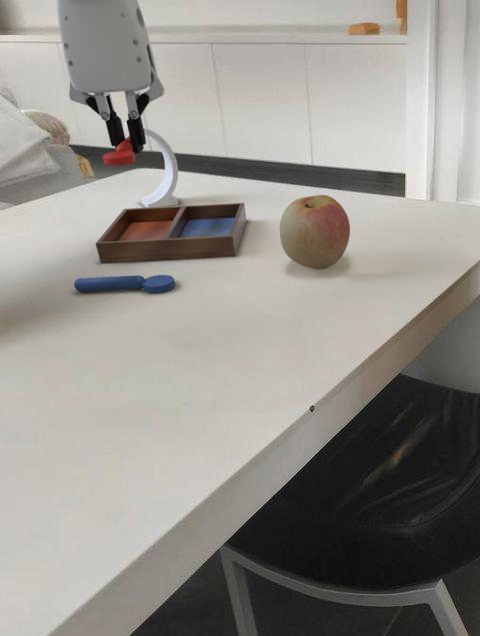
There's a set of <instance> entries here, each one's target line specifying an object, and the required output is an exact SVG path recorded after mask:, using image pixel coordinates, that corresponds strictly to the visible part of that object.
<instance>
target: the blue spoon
mask: <svg viewBox="0 0 480 636" xmlns="http://www.w3.org/2000/svg"><path fill="white" fill-rule="evenodd" d="M73 287H74V289H75V290H76V291H77V292H79V293H89V292H92V293H93V292H109V291H128V290H129V291H130V290H131V291H132V290H142V289H143V291H144V292H145V293H147V294H163V293H167V292H169V291H170V292H171V291H172V290H173V289H175V287H176V281H175V277H173V276H172V275H170V274H156V275H151V276H148V277H146V278H145V277H144V276H142V275H140V274H139V275H138V274H136V275H119V276H118V275H117V276H116V275H115V276H99V277H98V276H95V277H79V278H76V279H75V280H74V282H73Z"/></svg>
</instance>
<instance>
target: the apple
mask: <svg viewBox="0 0 480 636" xmlns="http://www.w3.org/2000/svg"><path fill="white" fill-rule="evenodd" d="M350 235H351V225H350V220H349V217H348V214H347V212H346V210H345V209H344V207H343V206H342V205H341V203H340V202H339V201H337V200H336V199H335V198H334V197H331V196H330V195H326V194H317V195H309V196H304V197H303V196H302V197H300V198H298V199H295V200H294V201H292V202H291V203H289V204H288V206H287V207H286V208H285V210H284V211H283V213H282V215H281V218H280V223H279V238H280V243H281V244H280V245H281V247H282V249H283V251H284V253H285V254H286V256H287V257H288V258H289V259H290V260H292V261H293V262H295V263H296V264H298V265H300V266H303V267H306V268H309V269H314V270H326V269H329V268H331V267H332V266H334V265H336V263H337V262H339V261H340V259H341V258H342V257H343V256H344V253H345V252H346V250H347V248H348V244H349V242H350V241H349V240H350Z"/></svg>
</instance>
